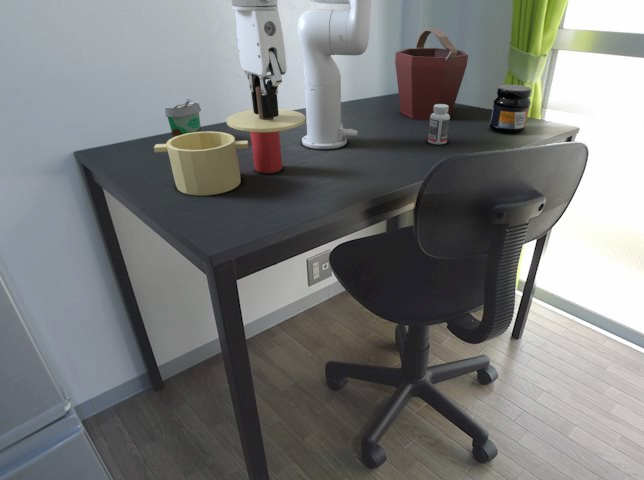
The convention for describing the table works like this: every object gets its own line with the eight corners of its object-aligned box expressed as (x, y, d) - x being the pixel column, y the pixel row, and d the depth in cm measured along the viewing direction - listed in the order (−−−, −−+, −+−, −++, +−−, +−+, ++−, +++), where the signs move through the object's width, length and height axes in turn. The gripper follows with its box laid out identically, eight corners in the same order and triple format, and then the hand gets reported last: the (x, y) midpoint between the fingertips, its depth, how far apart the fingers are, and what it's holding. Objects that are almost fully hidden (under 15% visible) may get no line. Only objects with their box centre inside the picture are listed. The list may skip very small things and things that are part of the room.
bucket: (463, 123, 143) (476, 33, 128) (394, 123, 143) (400, 32, 128) (450, 105, 163) (461, 25, 148) (390, 105, 163) (394, 25, 148)
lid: (229, 116, 91) (224, 80, 88) (303, 113, 93) (301, 78, 89) (224, 136, 79) (218, 96, 76) (308, 133, 81) (306, 94, 77)
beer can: (270, 176, 105) (264, 123, 97) (249, 171, 107) (242, 119, 100) (288, 168, 109) (283, 117, 102) (267, 163, 112) (261, 113, 105)
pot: (170, 174, 105) (160, 133, 100) (253, 170, 108) (248, 129, 102) (158, 198, 94) (146, 153, 89) (252, 192, 97) (246, 148, 91)
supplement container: (522, 136, 132) (532, 92, 125) (486, 132, 135) (494, 89, 128) (525, 127, 140) (534, 85, 133) (491, 124, 143) (498, 83, 136)
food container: (193, 149, 121) (185, 109, 115) (172, 147, 122) (164, 108, 116) (213, 136, 131) (207, 99, 125) (194, 134, 132) (187, 98, 126)
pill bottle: (444, 139, 129) (449, 103, 124) (448, 145, 125) (453, 107, 119) (426, 139, 129) (429, 103, 123) (429, 145, 125) (433, 108, 119)
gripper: (298, 0, 71) (304, 121, 82) (253, -3, 82) (264, 104, 93) (255, 1, 68) (268, 127, 78) (214, -2, 78) (230, 109, 89)
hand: (266, 114), depth 85 cm, fingers closed on lid, 2 cm apart
